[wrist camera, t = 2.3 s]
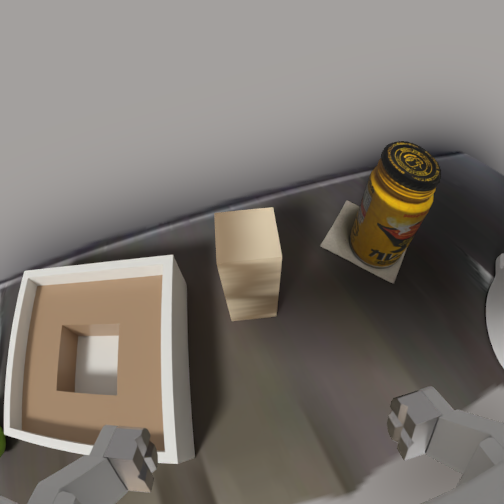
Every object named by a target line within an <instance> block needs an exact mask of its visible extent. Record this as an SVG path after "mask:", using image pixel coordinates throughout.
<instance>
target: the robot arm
mask: <svg viewBox="0 0 504 504" xmlns="http://www.w3.org/2000/svg"><path fill="white" fill-rule="evenodd" d="M486 322H487V329H488V334H489V338H490V341H491V344H492V347H493V350H494V352H495V354H496V357H497V358H498V360H499V362H500V364H501V365H502V367H503V368H504V253H502V254H501V255H500V256H498V257H497V259H496V275H495V278H494V280H493V282H492V284H491V286H490V289H489V292H488V296H487V301H486ZM390 407H391V409H392V410H393V411H392V412H391V414H390V415H389V416H388V421H387V427H388V432H389V435H390V437H391V439H392V440H393V441H396V442H398V447H397V449H398V451H399V453H400V454H401V456H402V458H403V459H404V460H408V459H411V458H414V457H417V456H420V455H422V454H425V453H426V455H428V456H429V457H431V458H433V459H435V460H437V461H438V462H440V463H442V464H444V465H446V466H448V467H450V468H451V469H453V470H455V471H457V472H459V473H461V474H463V475H462V477H461V479H460V480H459V482H458V484H457V486H456V488H454V489H452V490H450V491H448V492H446V493H444V494H442V495H439V496H437V497H435V498H433V499H431V500H428V501H426V502H424V503H421V504H504V423H503V422H499V421H495V420H492V419H488V418H485V417H481V416H478V415H474V414H471V413H468V412H465V411H462V410H458V409H457V410H455V411H454V409H453V408H452V407H451V406H450V405H449V404H448V403H447V402H446V401H445V399H444V398H443V397H442V396H441V395H440V394H439V393H438V392H437V391H436V390H435V388H434V387H432V386H429V387H426V388H423V389H420V390H418V391H415V392H411V393H408V394H405V395H402V396H399V397H395V398H393V400H392V401H391V406H390ZM150 437H151V435H150V433H149V431H148V429H147V428H141V427H128V426H115V425H105V426H103V427H102V430H101V432H100V434H99V436H98V438H97V440H96V442H95V444H94V446H93V448H92V450H91V452H90V454H89V455H84V456H83V457H81V458H79V459H78V460H76V461H75V462H73V463H71V464H70V465H68V466H66V467H65V468H63V469H61V470H60V471H58V472H56V473H55V474H53V475H51V476H49V477H48V478H46V479H44V480H42V481H41V482H39V483H38V484H37V486H36V488H35V490H34V492H33V494H32V496H31V498H30V499H29V501H28V503H27V504H115V503H116V502H118V501H119V500H120V499H121V498H122V497H123V496H124V495H125V494H126V493H127V492H128V491H138V492H151V490H152V486H153V482H154V477H153V475H152V472H153V471H155V470H156V469H157V464H158V454H157V449H156V447H155V444H153V443H152V442H151V441H149V440H150ZM127 490H128V491H127ZM0 504H18V503H16V502H14V501H11V500H9V499H7V498H5V497H3V496H1V495H0Z"/></svg>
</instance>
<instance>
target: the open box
mask: <svg viewBox="0 0 504 504" xmlns="http://www.w3.org/2000/svg"><path fill="white" fill-rule="evenodd" d="M105 425H115V426H128V427H141V428H147V429H148V431H149V433H150V435H151V437H150V440H149V441H151V442H152V443H153V444H155V447H156V449H157V454H158V463H174V464H178V463H181V462H184V461H187V460H190V459H193V458H195V450H194V438H193V426H192V412H191V397H190V378H189V355H188V320H187V284H186V282H185V280H184V278H183V276H182V273H181V271H180V269H179V267H178V265H177V262H176V260H175V258H174V256H173V255H165V256H155V257H146V258H137V259H128V260H119V261H109V262H100V263H91V264H82V265H73V266H65V267H56V268H47V269H38V270H29V271H24V275H23V279H22V283H21V287H20V291H19V295H18V300H17V305H16V310H15V315H14V320H13V326H12V332H11V338H10V345H9V352H8V361H7V370H6V382H5V398H4V435H7V436H10V437H13V438H17V439H20V440H23V441H27V442H30V443H34V444H38V445H42V446H46V447H50V448H54V449H59V450H63V451H68V452H73V453H79V454H84V455H89V454H90V452H91V450H92V448H93V446H94V444H95V442H96V440H97V438H98V436H99V434H100V432H101V430H102V427H103V426H105Z"/></svg>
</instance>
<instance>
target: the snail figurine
mask: <svg viewBox="0 0 504 504" xmlns="http://www.w3.org/2000/svg"><path fill="white" fill-rule="evenodd" d="M5 447H6V439H5V435H4V432H3V429H2V428H1V426H0V457H1V456H2V455H3V453H4V451H5Z"/></svg>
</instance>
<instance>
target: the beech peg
mask: <svg viewBox="0 0 504 504" xmlns="http://www.w3.org/2000/svg"><path fill="white" fill-rule="evenodd" d="M215 238H216V260H217V267H218V271H219V275H220V279H221V282H222V286H223V290H224V294H225V298H226V302H227V305H228V309H229V313H230V317H231V320H232V321H238V320H248V319H257V318H266V317H275V316H277V306H278V296H279V286H280V275H281V265H282V253H281V247H280V242H279V236H278V231H277V226H276V220H275V215H274V210H273V207H270V208H260V209H250V210H240V211H230V212H221V213H215Z"/></svg>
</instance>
